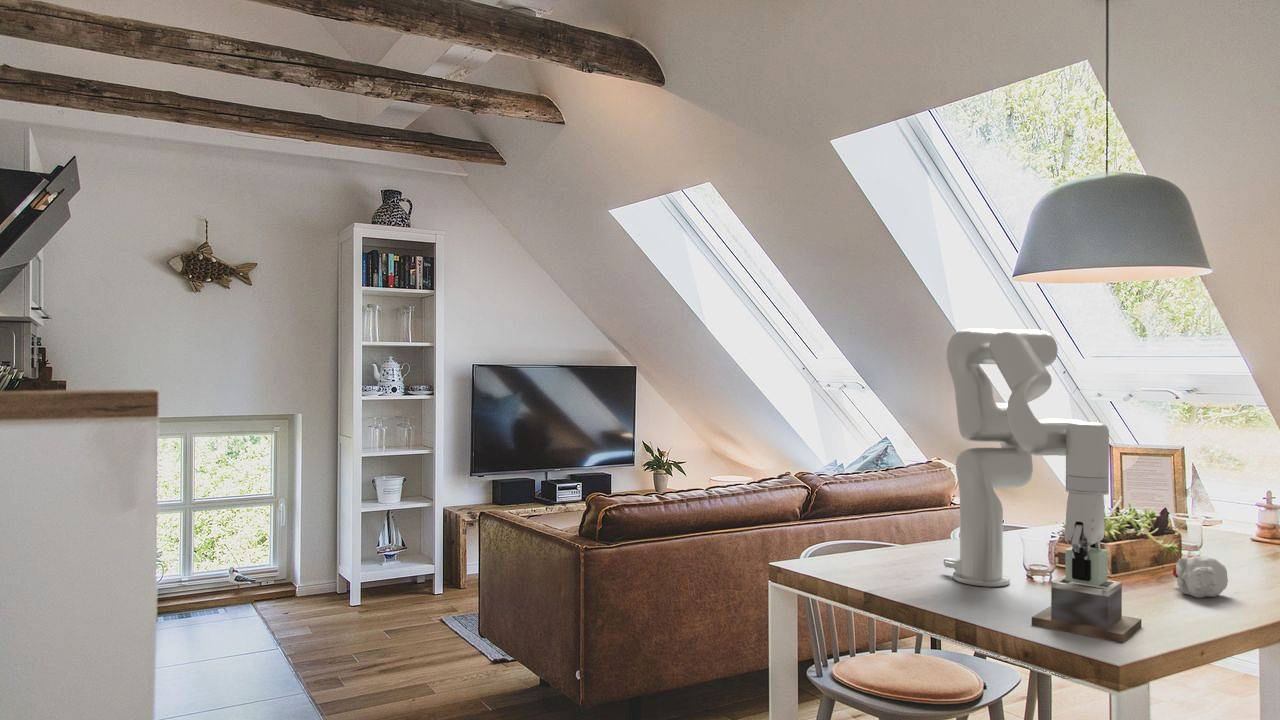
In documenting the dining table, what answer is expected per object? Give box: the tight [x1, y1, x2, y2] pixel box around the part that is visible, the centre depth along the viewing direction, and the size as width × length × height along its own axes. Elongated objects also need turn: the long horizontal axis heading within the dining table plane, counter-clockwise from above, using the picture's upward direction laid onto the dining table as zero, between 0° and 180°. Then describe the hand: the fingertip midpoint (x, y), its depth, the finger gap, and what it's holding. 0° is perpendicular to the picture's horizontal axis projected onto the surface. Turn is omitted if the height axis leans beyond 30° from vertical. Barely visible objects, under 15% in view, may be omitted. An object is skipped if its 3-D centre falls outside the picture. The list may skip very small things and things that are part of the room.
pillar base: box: [1031, 574, 1142, 644], centre depth 168 cm, size 16×14×8 cm
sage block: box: [1064, 546, 1109, 586], centre depth 168 cm, size 6×6×6 cm
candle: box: [1172, 555, 1229, 599], centre depth 195 cm, size 9×11×15 cm
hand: (1086, 576), depth 168 cm, fingers closed on sage block, 6 cm apart
